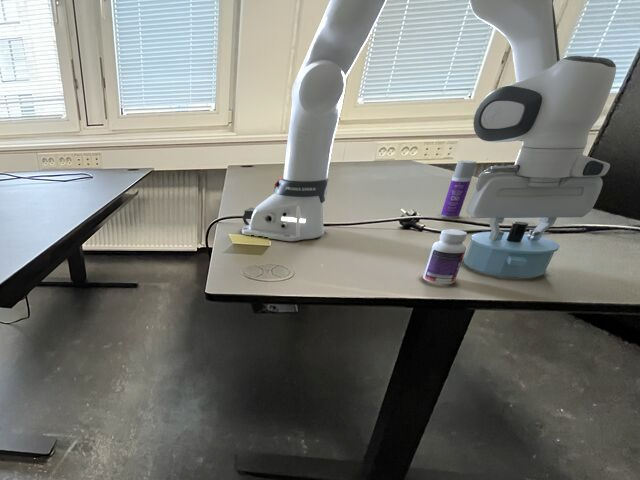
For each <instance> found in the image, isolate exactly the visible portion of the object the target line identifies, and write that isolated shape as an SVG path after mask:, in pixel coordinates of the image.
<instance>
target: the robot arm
mask: <svg viewBox="0 0 640 480" xmlns="http://www.w3.org/2000/svg"><path fill="white" fill-rule="evenodd" d="M387 1H388V0H329V2H328V4H327V6H326V9H325V11H324V14H323V15H322V19H321V21H320V23H319V25H318V28H317V30H316V32H315V35H314V37H313V39H312V42H311V43H310V45H309V48H308V50H307V52H306V55H305V57H304V60H303V62H302V64H301V65H300V66H301V67H300V69H299V71H298V73H297V76H296V77H295V80H294V82H293V85H292V87H291V88H292V89H291V102H292V103H291V110H290V111H291V112H290V119H289V124H288V125H289V126H288V134H287V135H288V136H287V141H286V149H285V156H284V157H285V158H284V166H283V175H282V176H281V177H279V178H277V180H276V181H275V182H274V184H273V188H274V191H273V194H271V195H270V196H269V197H267V198H266V199H264V200H263V201H262V202H261V203H259V204H258V205H257V206H256V207H248V208H247V209H245V210H244V213H243V215H242V221H243V223H244V225H243V226H242V228H241V234H243V235H244V236H245V235H246V236H251V235H254V236H253V237H258V236H264V237H268V238H267V239H272V240H276V241H277V240H278V241H284V242H297V241H300V240H311V239H312V240H313V239H315V238H321V237H322V236H323V235H324V234H325V225H324V204H325V201H326V199H327V194H328V188H329V178H328V175H329V169H330V168H329V167H330V162H331V157H332V156H331V155H332V151H333V145H334V140H335V136H336V132H337V128H338V124H339V119H340V115H341V110H342V106H343V101H344V95H345V92H346V91H345V90H346V84H347V83H346V82H347V81H346V79H347V77H348V75H349V73H350V72H351V70H352V68H353V66H354V64H355V62H356V61H357V59H358V58H359V55H360V53H361V51H362V50H363V48H364V47H365V45H366V44H367V41H368V39H369V37H370V35H371V33H372V31H373V29H374V27H375V25H376V24H377V21H378V19H379V17H380V15H381V13H382V11H383V9H384V7H385V4H386V3H387ZM468 3H469V5H470V9H471V11H472V13H473V15H474V16H475V17H476V18H477V19H479V20H481V21H482V22H484V23H486V24H487V25H490V26H491V27H493V28H494V29H496V30H497V31H499V32H500V33H501V34H502V35H503V36H504V37H505V38H506V40H507V41H508V43H509V45H510V48H511V52H512V59H513V67H514V68H513V69H514V74H515V82H513V83H509V84H506V85H504V86H501V87H498V88H496V89H494V90H492V91H491V92H490V93H488V94H487V95H486V96H485V97H484V98H483V100H481V102H480V103H479V104H478V107H477V109H476V111H475V113H474V117H473V121H472V124H473V131H474V133H475V135H476V136H477V138H479V139H480V140H482V141H484V142H489V143H494V144H495V143H511V142H522V144H521V147H520V149H519V152H518V155H517V157H516V160H515V163H514V164H513V165H492V166H490V167H489V168H486V169H484V171H482V172H481V173H480V174H479V176H478V177H477V181H476V183H475V188H474V190H473V192H472V193H471V196H470V198H469V199H468V202H467V204H466V208H465V212H466V214H467V215H468V216H469V217H472V218H473V219H488V224H489V227H490V230H491V231H490V232H491V233H490V236H489V239H490V240H492V241H499V240H501V239H502V236H503V235H504V232H505V231H502V230H501V229H500V225H501V224H503V222H504V220H505V219H533V218H534V219H536V218H537V219H539V221H540V223H539V224H538V225H537V226H535V228H534V229H529V231H528V232H527V234H528V235H527V239H528V240H530V241H538V240H540V238H541V237H542V235H543V234H544V232H546V231H547V230H548V229H550V228H551V227H552V226H553V225H554V224H555V223H556V220H557V218H584V217H585V216H587V215H588V214H589V213H590V212H591V211H592V210H593V208H594V206H595V204H596V202H597V200H598V198H599V196H600V194H601V191H602V188H603V185H604V182H603V179H602V177H603V176H605V175H607V173H608V171H609V170H610V168H611V164H610V163H608V162H605V161H603V160H599V159H597V158H593V157H590V156H588V155H585V154H584V152H585V150H586V147H587V145H588V138H589V136H590V135H589V134H590V132H591V130H592V128H593V127H594V125H596V123H597V121H598V120H599V119H600V117H601V115H602V113H603V110H604V108H605V106H606V104H607V101H608V99H609V96H610V93H611V90H612V87H613V84H614V81H615V77H616V73H617V65H616V63H615V62H614V61H613V60H612V59H610V58H606V57H599V56H583V55H570V56H566V57H563V58H561V57H560V49H559V48H560V46H559V38H558V29H557V21H556V14H555V12H556V11H555V7H554V1H553V0H468ZM248 220H250V221H249V222H248ZM264 237H263V238H264Z"/></svg>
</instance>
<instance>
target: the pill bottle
mask: <svg viewBox="0 0 640 480" xmlns="http://www.w3.org/2000/svg"><path fill="white" fill-rule="evenodd" d="M467 235H468V232H467V231H464V230H459V229H443V230H442V231H441V232H440V235H439V240H437V241H435V242H434V243H433V244H432V247H431V249H430V253H429V256H428V259H427V262H426V265H425V268H424V271H423V275H422V278H423V279H424V281H427V282H429V283H433V284H438V285H439V284H441V285H451V284H453V283H455V281H456V280H457V279H456V278H457V277H458V273H459V270H460V267H461V264H462V262H463V260H464V257H465V255H466V252H467V246H466V245H465V244H464V243H463V242H465V241H466V238H467Z"/></svg>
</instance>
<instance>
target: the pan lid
mask: <svg viewBox="0 0 640 480" xmlns="http://www.w3.org/2000/svg"><path fill="white" fill-rule="evenodd" d="M528 226H529V222H525V221H513V222H512V224H511V227H510V229H509V231H503V232H504V235H503V236H502V239H501V240H499V241H492V240H490V239H489V236H490V233H491V231H481V232H477V233H474V234H472V235H471V236H470V242H471V241H472V242H473V243H475V244H477V245H479V246H482V247H485V248H489V249H494V250H499V251H504V252H512V253H523V254H545V253H552V252H554V253H555V252H557V251H559V249H560V244H559V243H558V242H556V241H554V240H552V239H549V238H546V237H542V236H541V238H540V240H538V241H530V240H528V239H527V235H528V233H526V231H527V229H528Z"/></svg>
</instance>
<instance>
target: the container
mask: <svg viewBox="0 0 640 480" xmlns="http://www.w3.org/2000/svg"><path fill="white" fill-rule="evenodd" d="M476 165H477V161H474V160H458V161H457V163H456V166H455V168H454V172H453V175H452V178H451V180H450V184H449V187H448V190H447V193H446V197H445V200H444V203H443V206H442V209H441V212H440V217H441V218H444V219H445V218H446V219H457V218H459V217H460V214H461V211H462V209H463V206H464V202H465V199H466V196H467V193H468V191H469V188H470V185H471V182H472V179H473V175H474V173H475V169H476Z"/></svg>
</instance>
